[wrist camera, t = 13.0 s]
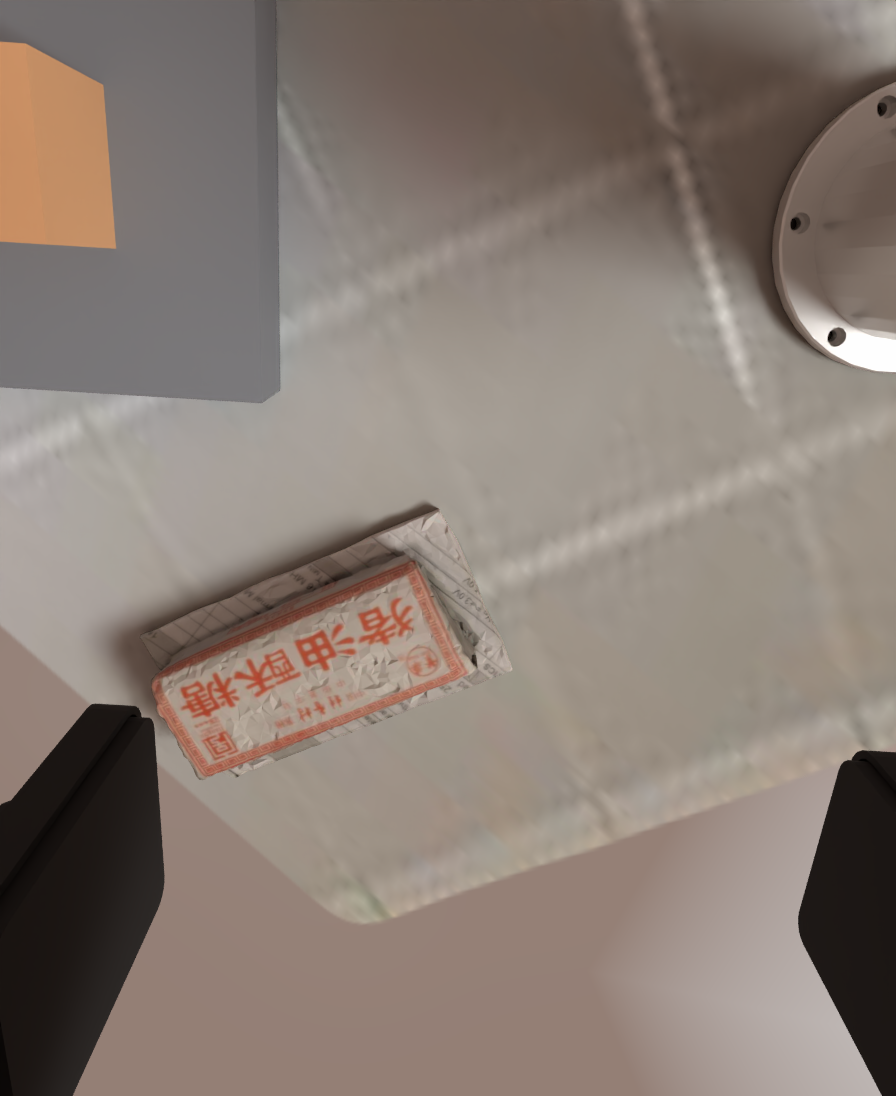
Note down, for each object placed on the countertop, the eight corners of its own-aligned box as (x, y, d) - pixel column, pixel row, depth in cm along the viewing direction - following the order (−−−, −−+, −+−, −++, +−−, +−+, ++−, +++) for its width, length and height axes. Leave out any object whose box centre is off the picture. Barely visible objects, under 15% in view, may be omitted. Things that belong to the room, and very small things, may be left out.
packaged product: (209, 820, 42) (109, 669, 39) (233, 766, 47) (145, 627, 44) (520, 702, 39) (440, 530, 36) (513, 657, 44) (441, 501, 41)
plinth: (275, -47, 33) (252, -88, 29) (280, 390, 39) (261, 403, 35) (-164, -79, 32) (-245, -124, 28) (-90, 367, 38) (-149, 378, 34)
